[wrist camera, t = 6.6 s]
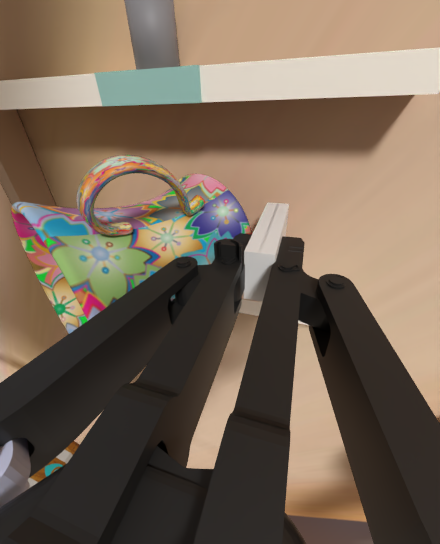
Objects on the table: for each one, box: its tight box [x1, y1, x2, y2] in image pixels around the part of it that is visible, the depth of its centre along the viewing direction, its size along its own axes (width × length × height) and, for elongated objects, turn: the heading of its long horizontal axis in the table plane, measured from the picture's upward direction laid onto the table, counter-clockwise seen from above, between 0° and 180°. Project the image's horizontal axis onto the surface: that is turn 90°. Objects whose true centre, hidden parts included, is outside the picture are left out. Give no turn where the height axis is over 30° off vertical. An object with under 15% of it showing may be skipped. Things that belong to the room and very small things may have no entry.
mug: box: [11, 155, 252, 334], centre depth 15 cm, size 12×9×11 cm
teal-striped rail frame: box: [0, 0, 440, 325], centre depth 19 cm, size 22×28×3 cm
